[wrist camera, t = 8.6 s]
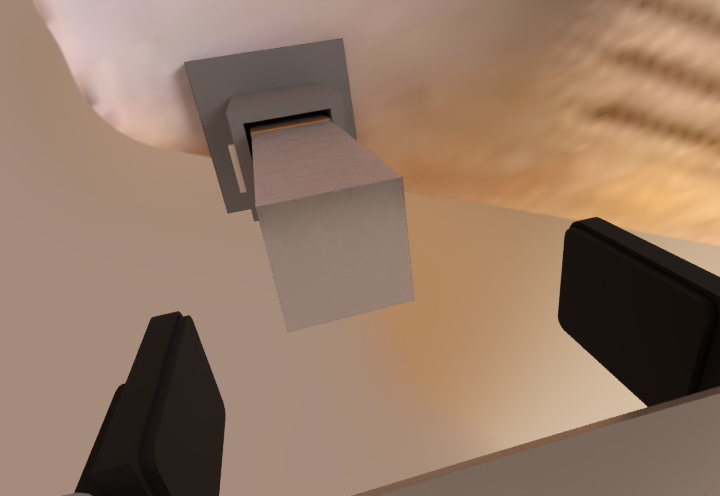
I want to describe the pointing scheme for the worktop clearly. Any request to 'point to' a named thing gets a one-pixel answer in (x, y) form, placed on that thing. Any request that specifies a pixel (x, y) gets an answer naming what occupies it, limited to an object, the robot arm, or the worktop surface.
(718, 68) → the worktop surface
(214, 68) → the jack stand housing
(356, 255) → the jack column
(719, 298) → the robot arm
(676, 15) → the worktop surface
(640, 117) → the worktop surface
